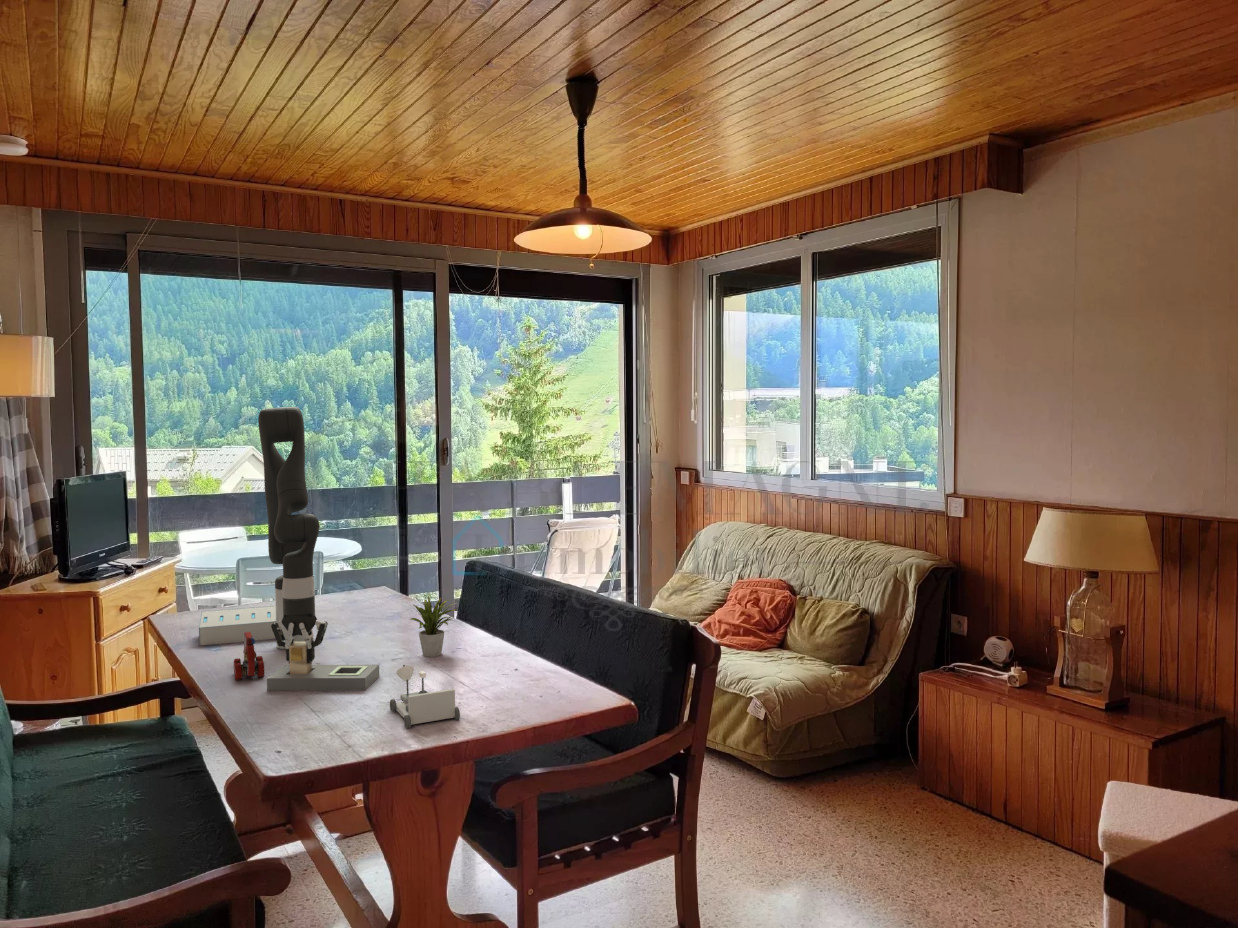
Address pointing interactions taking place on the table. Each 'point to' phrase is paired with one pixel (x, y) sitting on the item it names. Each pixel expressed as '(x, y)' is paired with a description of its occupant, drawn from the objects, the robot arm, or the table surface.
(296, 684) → the panel
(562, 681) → the table surface
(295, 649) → the plug
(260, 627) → the warehouse
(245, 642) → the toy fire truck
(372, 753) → the table surface
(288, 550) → the robot arm
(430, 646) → the house plant
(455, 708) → the toy car
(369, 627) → the table surface
